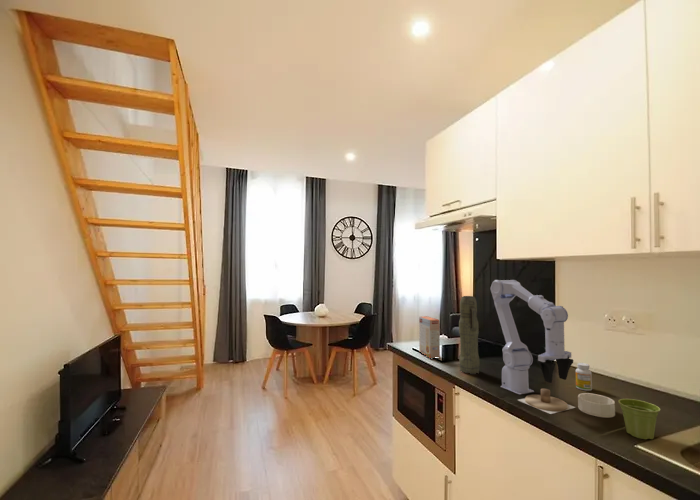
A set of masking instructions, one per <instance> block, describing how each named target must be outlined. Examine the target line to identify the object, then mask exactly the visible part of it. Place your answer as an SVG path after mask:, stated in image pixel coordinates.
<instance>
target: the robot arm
mask: <svg viewBox="0 0 700 500" xmlns="http://www.w3.org/2000/svg"><path fill="white" fill-rule="evenodd" d="M489 289H490V292H491V295H492V299H493V303H494V307H495V310H496V313H497V316H498V320H499V324H500V326H501V327H500V328H501V330H502V334H503V337H504V341H505V345H504V346H503V347H502V359H503V363H504V366H503V367H502V368H501V385H500V388H502V389H505V390H508V391H509V392H513V393H515V394H517V395H526V394H530V393H535V391H534V390H533V389H531V388H530V387H529V369H530V368H531V367H530V366H531V365H532V364H533V361H534V358H533V355H532V352H531V351H530V350H529V347H528V346H527V344H525V343H523V342H522V341H521V338H520V334H519V332H518V329H517V325H516V323H515V320H514V317H513V314H512V310H511V307H510V302H512V301H513V300H514V299H515V297H518V298H520V299H521V300H522V301H525V302H526V303H527V305H528V307H529V308H530V309H531V310H532V311H534V312H536V314H538V315H540V318H541V320H542V321H543V326H544V333H545V334H544V335H545V337H544V338H545V340H544V341H545V352H543V353H541V354H538V355H537V360H536V363H537V364H538V366H539V368H540V370H541V373H542V375H543V379H544V381H545V383H546V382H547V383H549V384H551V383H552V381H553V373H554V369H555V366H556V365H557V370H558V372H557V373H558V378H559V379H562V380H564V381H565V380H567V378H568V375H569V371H570V368H571V367H572V365H573V364H574V359H573V358H572V352H571V351H568V350H566V349H565V347H566V346H565V323H566V321H567V320H568V318H569V314H568V311H567V309H566V308H565V307H564V306H562V305H555V303H554V302H552V301H549V300H547V299H546V298H544V295H542V294H539V295H538V294H536V295H535V294H532V293H531V292H530V291H529V290H527V289H526V288H525V287H523V285H522V284H521V282H519V281H517V280H516V279H510V280H509V279H506V280H505V279H503V280H501V279H494V280H493V281H492V283H491V286H490V288H489ZM554 360H555V362H556V363H554V362H551V361H554Z"/></svg>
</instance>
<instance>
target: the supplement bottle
mask: <svg viewBox="0 0 700 500" xmlns="http://www.w3.org/2000/svg"><path fill="white" fill-rule="evenodd" d="M576 365H577V367H576V369H575V388H577V389H578V390H580V391H581V390H582V391H588V392H591V391H592V390H593V377H592V375H593V373H592V370H590V364H588V363H584V362H578V363H577V364H576Z"/></svg>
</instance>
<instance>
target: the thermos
mask: <svg viewBox="0 0 700 500" xmlns="http://www.w3.org/2000/svg"><path fill="white" fill-rule="evenodd" d="M459 313H460V315H459V319H458V320H459V321H458V334H459V338H460V339H459V343H460V344H459V345H460V346H459V349H460V350H459V351H460V352H459V357H458V358H459V360H458V361H459V363H458V365H459V372H460V371H462V372H465V373H470V374H469V375H477V374H476V373H478V374H479V373H480V356H479V341H478V339H479V338H478V337H479V334H480V333H479V331H480V330H479V329H480V328H479V327H480V326H479V320H478V316H477V315H478V304H477V299H476V297H475V296H473V295H463V296H461V299H460V300H459ZM462 372H461V373H462ZM465 373H464V374H465Z"/></svg>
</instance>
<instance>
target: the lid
mask: <svg viewBox="0 0 700 500" xmlns="http://www.w3.org/2000/svg"><path fill="white" fill-rule="evenodd" d="M524 398H525V401H526V403H527V404H526V405H528V404H529V405H528V406H530V405H531V406H530V407H532V406H533V408H536V409H537V408H539V409H542V410H548V411H561V412H564V410H565V411H567V410H566V409H567V404H568V403H567V402H565V400H562V399H560V398H558V397H555V396H551V390H550V389H549V388H540V394H528V395H526V396H525V397H524ZM539 409H538V410H539ZM542 410H541V411H542Z"/></svg>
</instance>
